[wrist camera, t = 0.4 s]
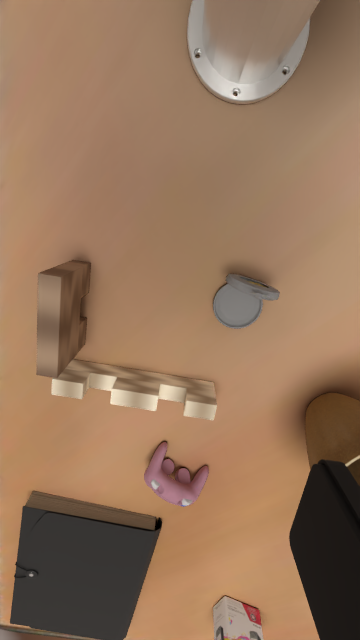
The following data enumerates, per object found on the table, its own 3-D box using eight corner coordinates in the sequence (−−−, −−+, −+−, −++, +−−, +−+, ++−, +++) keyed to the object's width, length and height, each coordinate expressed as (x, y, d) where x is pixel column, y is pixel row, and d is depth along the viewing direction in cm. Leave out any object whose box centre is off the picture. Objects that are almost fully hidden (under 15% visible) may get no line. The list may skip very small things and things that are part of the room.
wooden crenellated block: (68, 372, 47) (51, 394, 41) (69, 358, 46) (52, 378, 40) (210, 395, 47) (213, 420, 41) (213, 382, 46) (217, 405, 41)
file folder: (20, 508, 51) (161, 535, 53) (32, 487, 55) (162, 513, 57) (7, 625, 62) (125, 645, 63) (18, 601, 66) (128, 620, 67)
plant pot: (398, 412, 47) (497, 505, 32) (319, 465, 51) (374, 571, 36) (340, 349, 44) (419, 419, 29) (260, 410, 48) (293, 500, 33)
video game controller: (151, 445, 52) (135, 487, 47) (163, 438, 49) (148, 482, 44) (198, 472, 54) (187, 516, 49) (212, 467, 51) (203, 512, 46)
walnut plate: (73, 259, 41) (38, 273, 32) (90, 262, 41) (61, 277, 32) (68, 341, 45) (36, 374, 35) (85, 343, 45) (57, 378, 35)
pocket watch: (219, 331, 44) (227, 363, 34) (204, 274, 41) (208, 292, 32) (276, 316, 43) (300, 345, 33) (264, 258, 40) (287, 271, 31)
